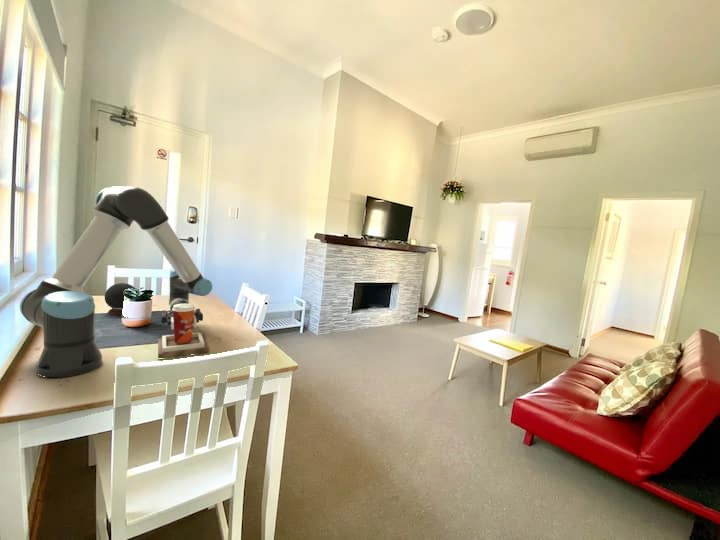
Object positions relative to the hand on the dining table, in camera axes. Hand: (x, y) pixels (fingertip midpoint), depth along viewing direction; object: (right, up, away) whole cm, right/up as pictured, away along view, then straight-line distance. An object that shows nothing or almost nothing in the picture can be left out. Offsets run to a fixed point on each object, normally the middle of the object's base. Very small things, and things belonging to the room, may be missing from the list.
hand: (184, 324), depth 113 cm
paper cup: (-3, -7, +5) cm, 10 cm away
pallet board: (-4, -10, +6) cm, 12 cm away
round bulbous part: (-54, -1, +40) cm, 67 cm away
